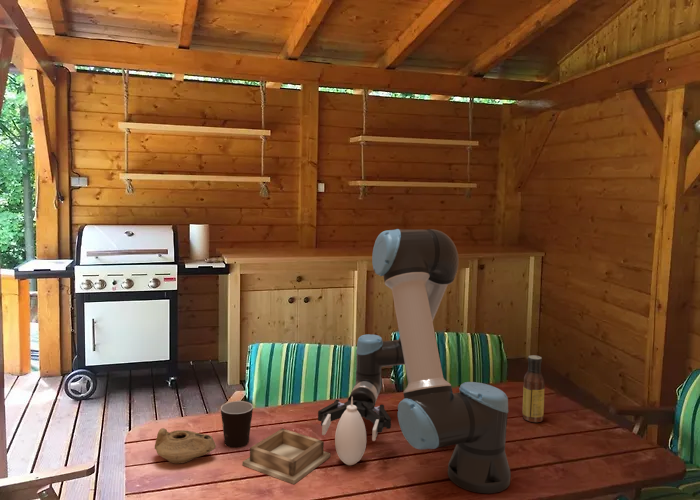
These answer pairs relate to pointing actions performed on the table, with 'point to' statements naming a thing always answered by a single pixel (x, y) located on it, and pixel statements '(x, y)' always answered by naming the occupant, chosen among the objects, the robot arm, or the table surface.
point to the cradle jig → (287, 455)
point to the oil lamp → (182, 445)
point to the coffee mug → (236, 423)
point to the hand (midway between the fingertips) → (348, 432)
